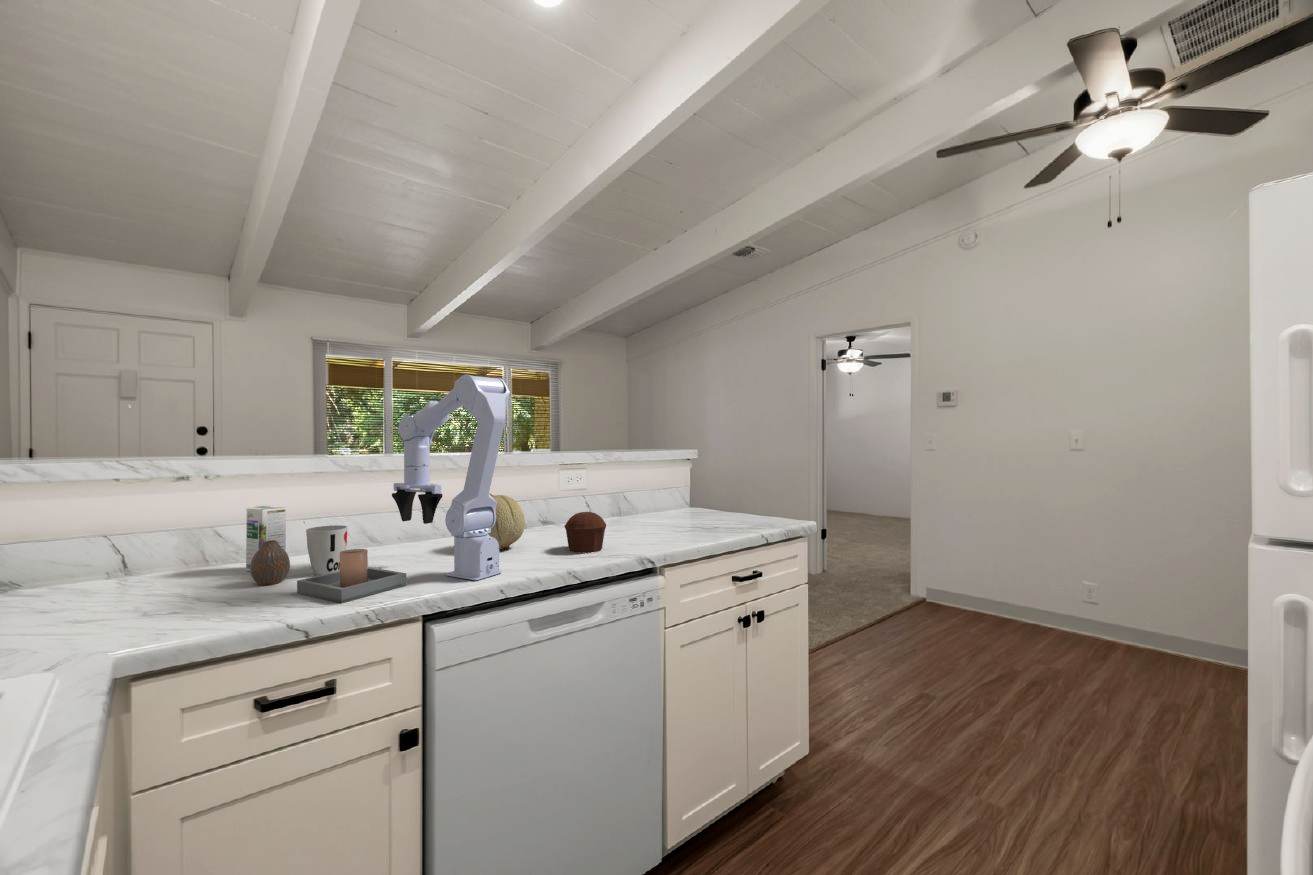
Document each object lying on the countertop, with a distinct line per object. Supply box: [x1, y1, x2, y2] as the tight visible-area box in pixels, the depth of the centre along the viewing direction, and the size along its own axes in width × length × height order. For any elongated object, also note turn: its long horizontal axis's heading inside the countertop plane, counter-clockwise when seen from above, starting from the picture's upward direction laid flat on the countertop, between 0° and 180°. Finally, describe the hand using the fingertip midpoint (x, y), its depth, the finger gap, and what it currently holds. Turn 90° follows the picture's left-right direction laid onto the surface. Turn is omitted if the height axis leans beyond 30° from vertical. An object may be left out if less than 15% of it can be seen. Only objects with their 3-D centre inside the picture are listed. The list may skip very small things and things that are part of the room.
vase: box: [249, 540, 291, 586], centre depth 120 cm, size 7×7×9 cm
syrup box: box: [245, 505, 287, 572], centre depth 131 cm, size 6×6×14 cm
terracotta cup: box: [340, 548, 369, 588], centre depth 115 cm, size 5×5×7 cm
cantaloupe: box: [488, 492, 526, 550], centre depth 155 cm, size 15×15×15 cm
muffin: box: [564, 511, 607, 554], centre depth 154 cm, size 12×11×10 cm
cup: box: [305, 524, 349, 576], centre depth 129 cm, size 8×8×10 cm
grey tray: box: [296, 566, 407, 604], centre depth 115 cm, size 14×14×2 cm
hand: (417, 521), depth 138 cm, fingers open, 7 cm apart
